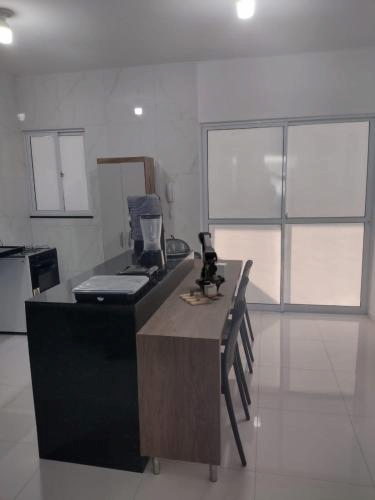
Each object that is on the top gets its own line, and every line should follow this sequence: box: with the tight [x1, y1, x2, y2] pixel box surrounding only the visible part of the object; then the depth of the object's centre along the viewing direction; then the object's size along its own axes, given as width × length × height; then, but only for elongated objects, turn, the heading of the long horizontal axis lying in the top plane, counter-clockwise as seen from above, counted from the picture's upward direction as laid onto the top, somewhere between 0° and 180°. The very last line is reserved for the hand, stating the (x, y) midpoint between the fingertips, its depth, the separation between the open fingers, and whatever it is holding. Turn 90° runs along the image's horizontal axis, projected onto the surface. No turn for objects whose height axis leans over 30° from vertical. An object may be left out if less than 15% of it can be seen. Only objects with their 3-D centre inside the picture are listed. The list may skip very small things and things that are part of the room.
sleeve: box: [204, 284, 218, 298], centre depth 239 cm, size 6×6×6 cm
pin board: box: [179, 287, 213, 306], centre depth 230 cm, size 20×13×6 cm, turn 23°
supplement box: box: [215, 262, 229, 282], centre depth 276 cm, size 7×7×13 cm
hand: (210, 293), depth 239 cm, fingers open, 9 cm apart
